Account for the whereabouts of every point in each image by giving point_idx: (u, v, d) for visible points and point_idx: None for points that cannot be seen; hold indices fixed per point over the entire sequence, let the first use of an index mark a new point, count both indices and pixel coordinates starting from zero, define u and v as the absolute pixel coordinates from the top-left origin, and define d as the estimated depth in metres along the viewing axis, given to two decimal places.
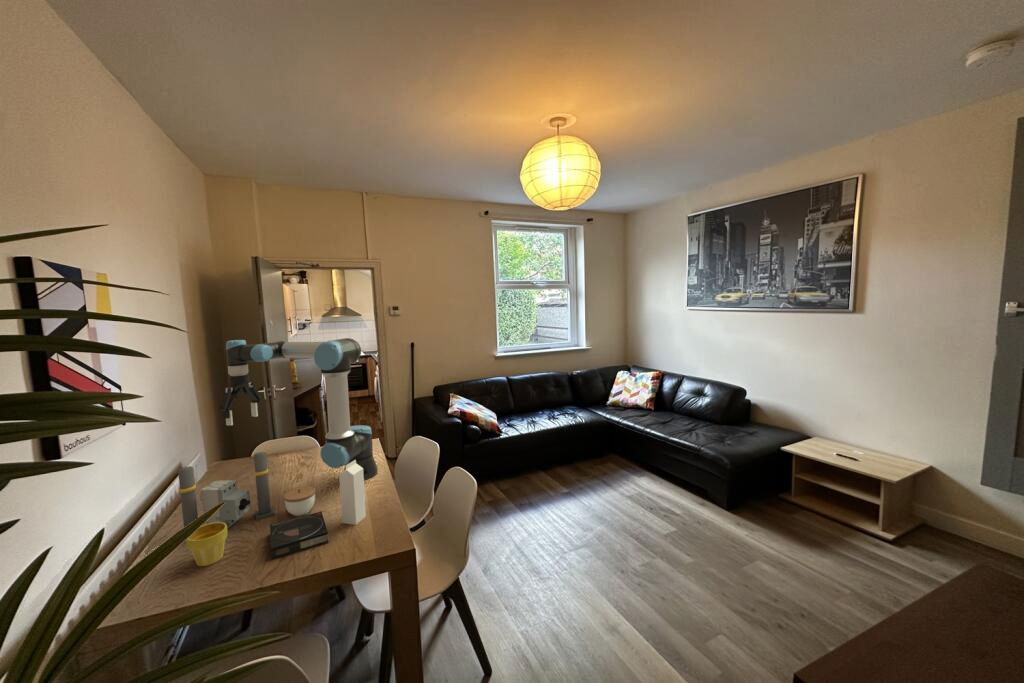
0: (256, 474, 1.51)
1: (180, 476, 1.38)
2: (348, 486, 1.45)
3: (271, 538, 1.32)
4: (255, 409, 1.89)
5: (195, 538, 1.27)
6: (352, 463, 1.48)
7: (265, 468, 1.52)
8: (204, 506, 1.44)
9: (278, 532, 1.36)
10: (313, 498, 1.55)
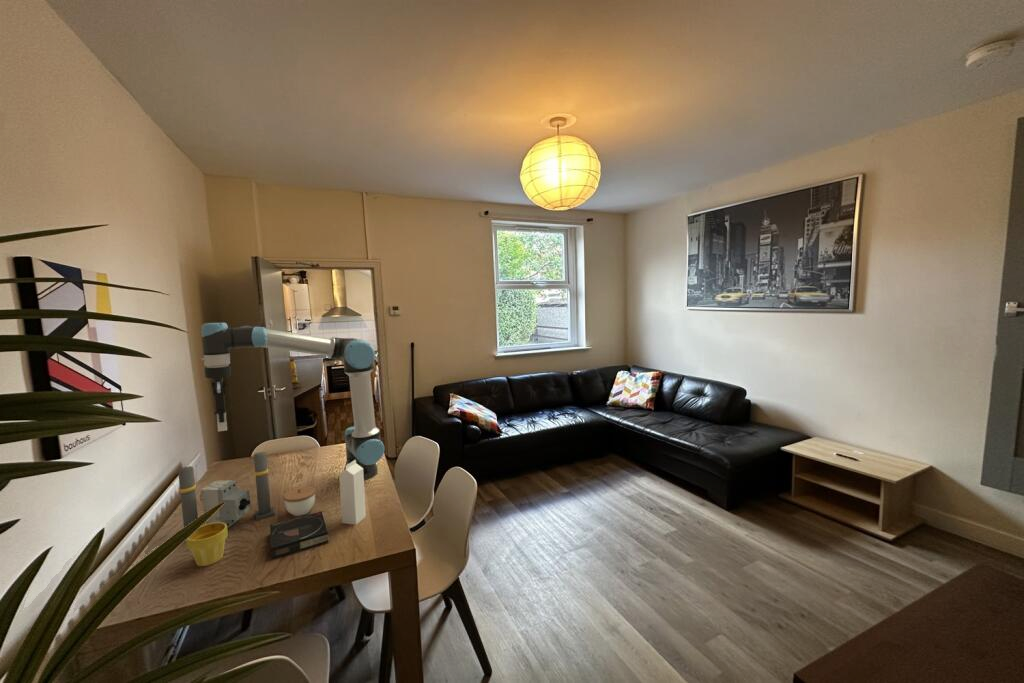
0: (256, 474, 1.51)
1: (180, 476, 1.38)
2: (348, 486, 1.45)
3: (271, 538, 1.32)
4: None
5: (195, 538, 1.27)
6: (352, 463, 1.48)
7: (265, 468, 1.52)
8: (204, 506, 1.44)
9: (278, 532, 1.36)
10: (313, 498, 1.55)
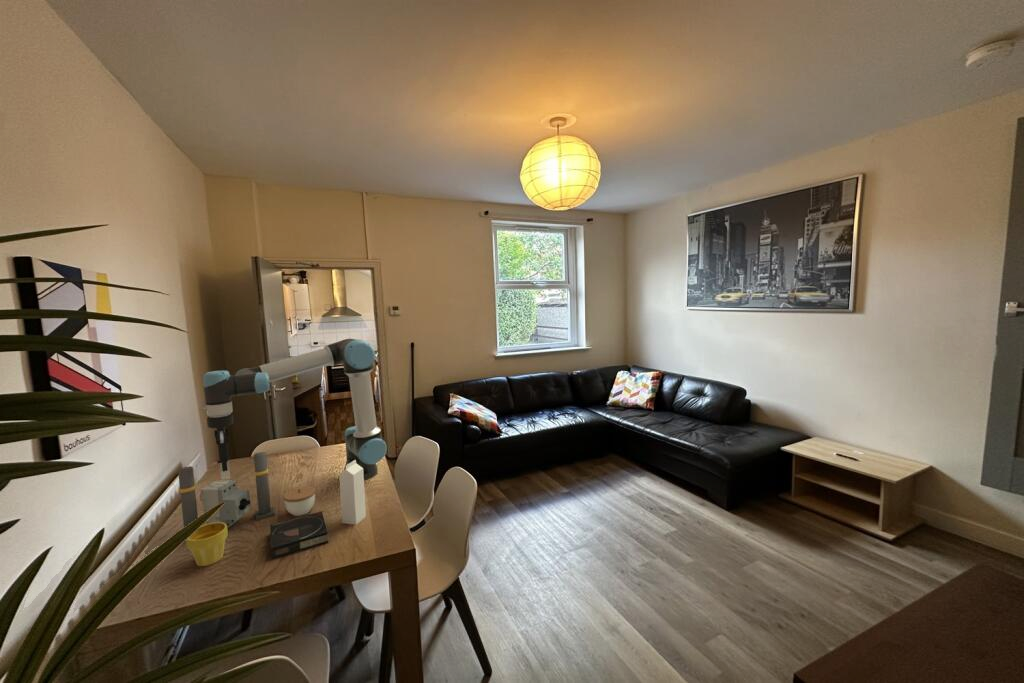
0: (256, 474, 1.51)
1: (180, 476, 1.38)
2: (348, 486, 1.45)
3: (271, 538, 1.32)
4: None
5: (195, 538, 1.27)
6: (352, 463, 1.48)
7: (265, 468, 1.52)
8: (204, 506, 1.44)
9: (278, 532, 1.36)
10: (313, 498, 1.55)
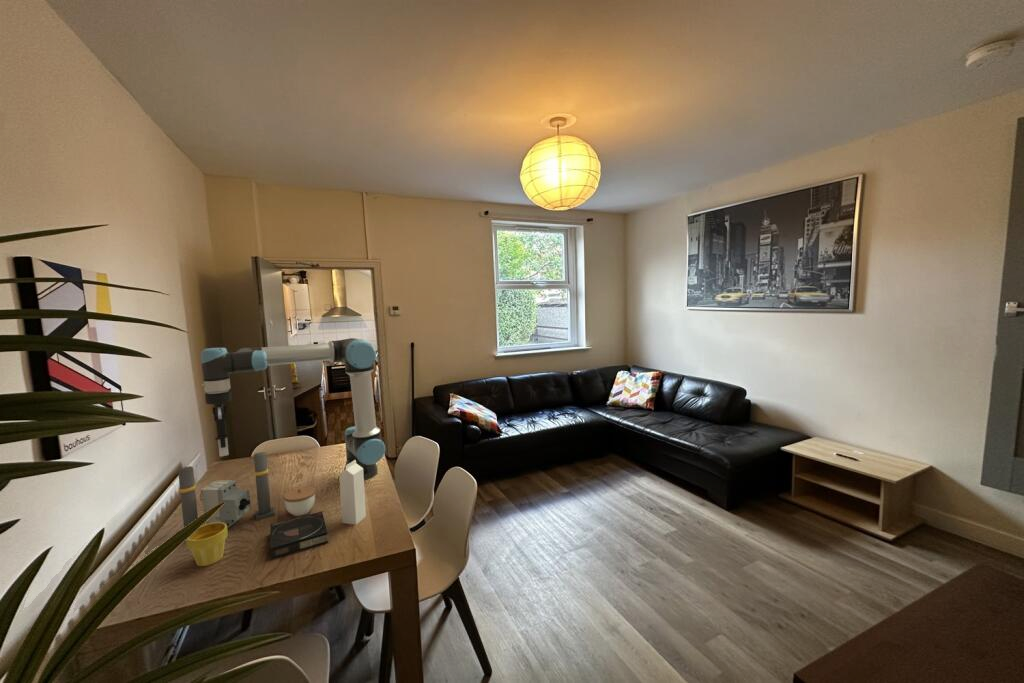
0: (256, 474, 1.51)
1: (180, 476, 1.38)
2: (348, 486, 1.45)
3: (271, 538, 1.32)
4: None
5: (195, 538, 1.27)
6: (352, 463, 1.48)
7: (265, 468, 1.52)
8: (204, 506, 1.44)
9: (278, 532, 1.36)
10: (313, 498, 1.55)
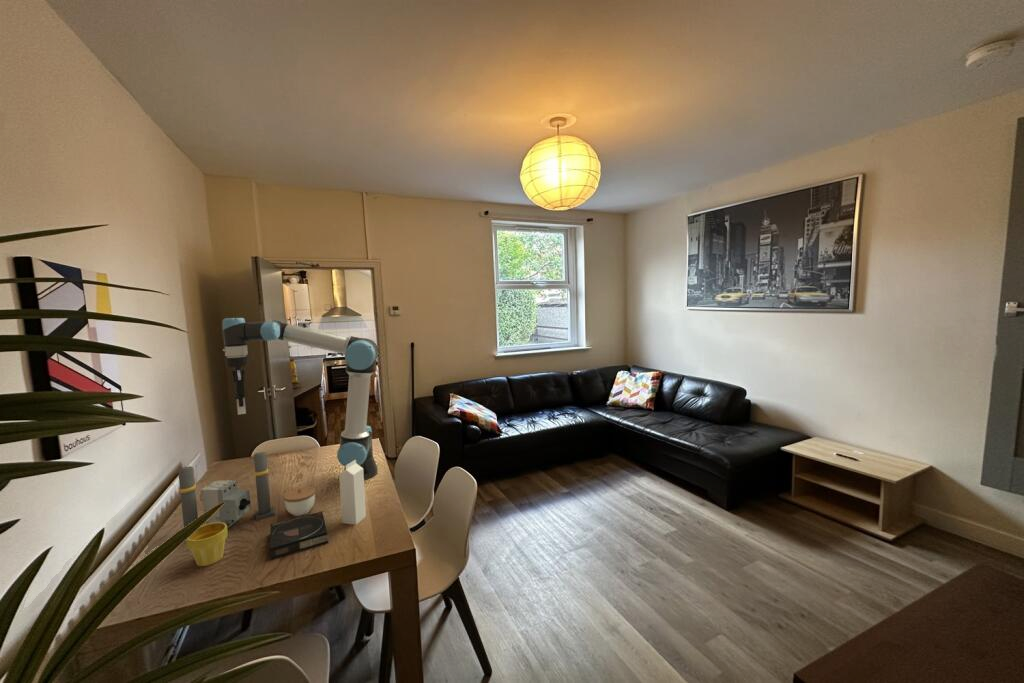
0: (256, 474, 1.51)
1: (180, 476, 1.38)
2: (348, 486, 1.45)
3: (271, 538, 1.32)
4: None
5: (195, 538, 1.27)
6: (352, 463, 1.48)
7: (265, 468, 1.52)
8: (204, 506, 1.44)
9: (278, 532, 1.36)
10: (313, 498, 1.55)
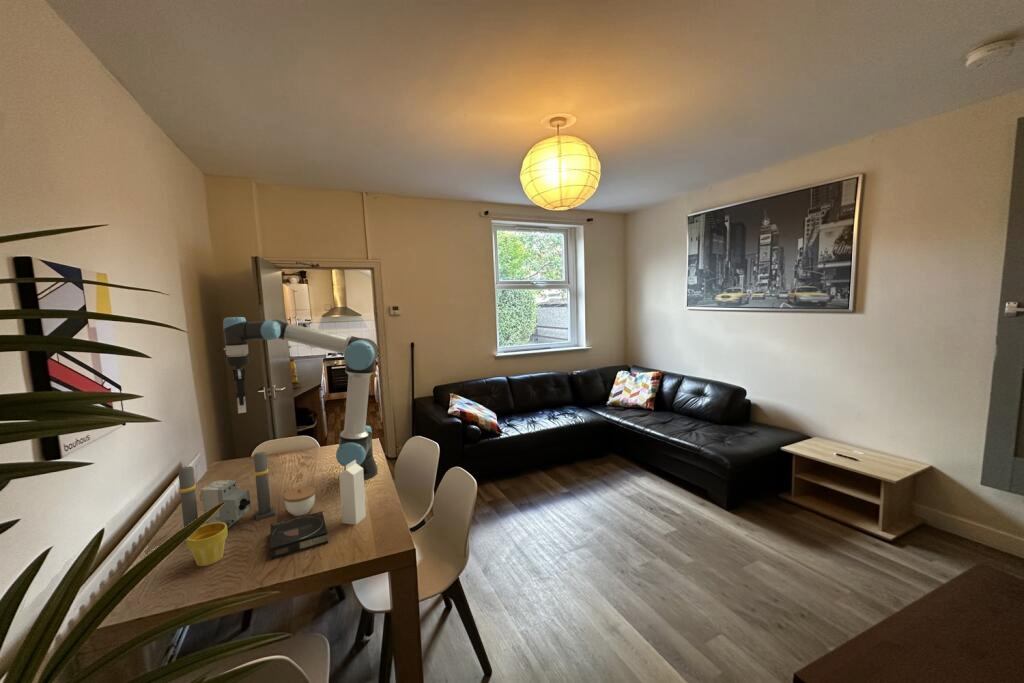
0: (256, 474, 1.51)
1: (180, 476, 1.38)
2: (348, 486, 1.45)
3: (271, 538, 1.32)
4: None
5: (195, 538, 1.27)
6: (352, 463, 1.48)
7: (265, 468, 1.52)
8: (204, 506, 1.44)
9: (278, 532, 1.36)
10: (313, 498, 1.55)
